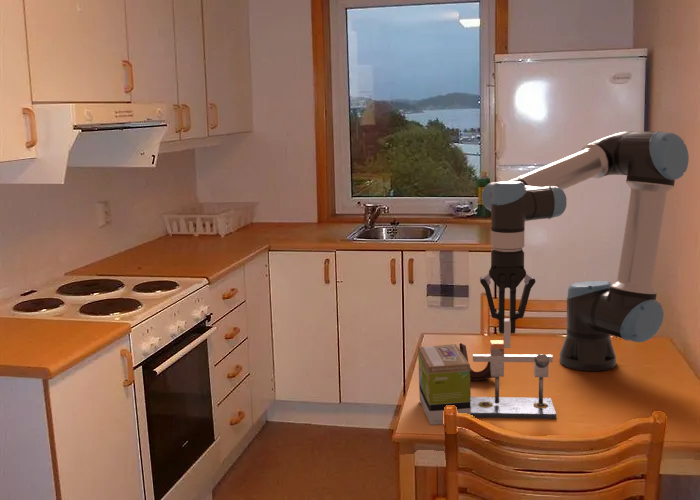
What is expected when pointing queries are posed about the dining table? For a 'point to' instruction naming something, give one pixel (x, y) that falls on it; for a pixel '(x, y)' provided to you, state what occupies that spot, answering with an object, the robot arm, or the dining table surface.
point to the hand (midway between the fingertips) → (506, 346)
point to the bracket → (474, 375)
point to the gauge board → (512, 408)
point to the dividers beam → (539, 361)
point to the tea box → (443, 381)
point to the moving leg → (497, 363)
